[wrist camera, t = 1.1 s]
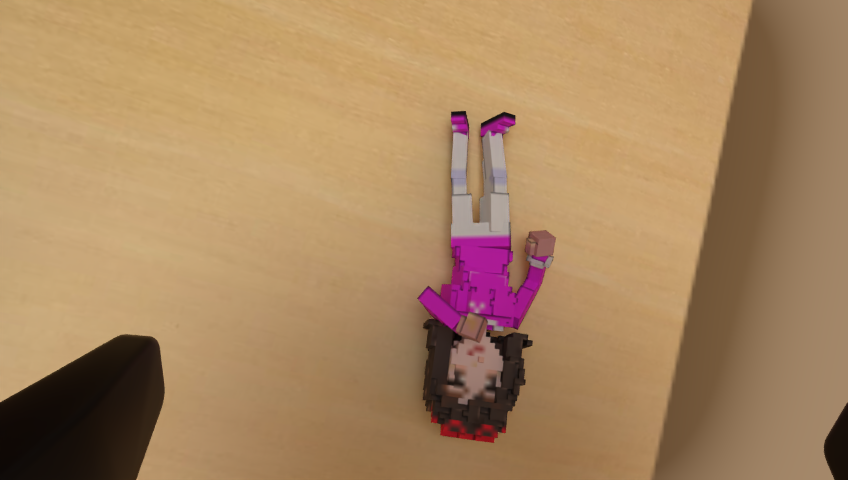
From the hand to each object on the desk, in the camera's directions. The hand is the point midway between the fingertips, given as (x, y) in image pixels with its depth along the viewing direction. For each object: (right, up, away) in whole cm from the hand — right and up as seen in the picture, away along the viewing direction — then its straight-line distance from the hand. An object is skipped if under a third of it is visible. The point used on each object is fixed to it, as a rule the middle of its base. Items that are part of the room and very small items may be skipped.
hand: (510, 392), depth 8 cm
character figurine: (+1, +1, +16) cm, 16 cm away
